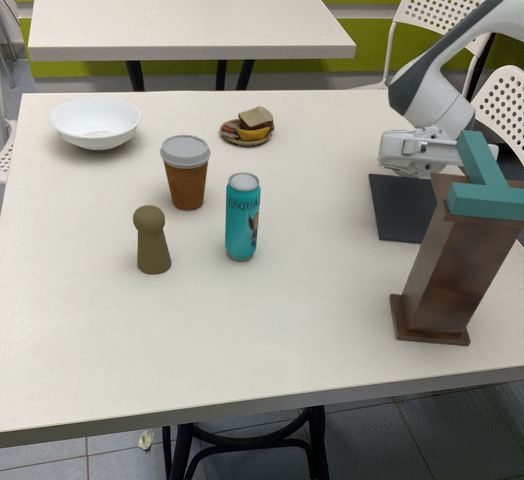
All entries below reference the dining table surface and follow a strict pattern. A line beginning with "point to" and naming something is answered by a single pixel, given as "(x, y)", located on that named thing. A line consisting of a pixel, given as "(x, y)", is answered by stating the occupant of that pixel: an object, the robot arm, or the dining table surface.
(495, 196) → the letter T
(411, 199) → the mat
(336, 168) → the dining table surface
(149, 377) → the dining table surface
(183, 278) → the dining table surface
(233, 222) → the beverage can
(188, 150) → the disposable coffee cup
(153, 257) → the olive pawn
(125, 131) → the bowl
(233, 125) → the toy sandwich meal
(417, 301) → the stand
